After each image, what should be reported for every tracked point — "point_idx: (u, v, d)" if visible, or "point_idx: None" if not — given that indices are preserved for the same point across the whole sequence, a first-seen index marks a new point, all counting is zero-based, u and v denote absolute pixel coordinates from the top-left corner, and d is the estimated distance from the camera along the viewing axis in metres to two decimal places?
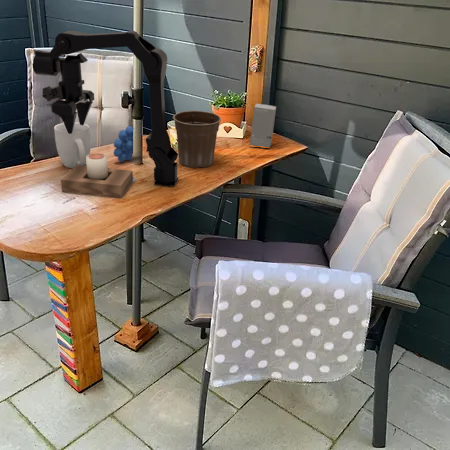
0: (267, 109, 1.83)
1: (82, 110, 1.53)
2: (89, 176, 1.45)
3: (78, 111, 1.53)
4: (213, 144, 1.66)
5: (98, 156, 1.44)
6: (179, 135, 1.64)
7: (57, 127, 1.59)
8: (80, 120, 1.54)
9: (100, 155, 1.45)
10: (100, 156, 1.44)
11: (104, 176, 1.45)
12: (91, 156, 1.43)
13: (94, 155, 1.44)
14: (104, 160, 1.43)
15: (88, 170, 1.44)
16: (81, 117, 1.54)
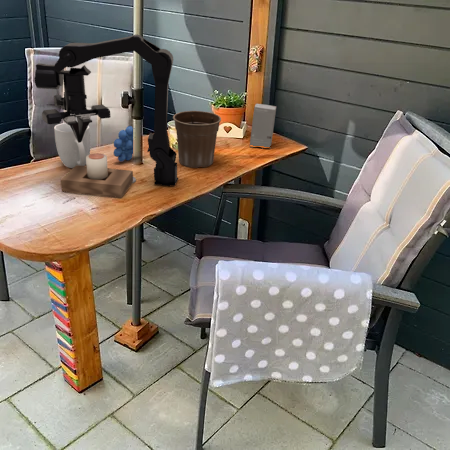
0: (267, 109, 1.83)
1: (80, 127, 1.46)
2: (89, 176, 1.45)
3: (78, 127, 1.47)
4: (213, 144, 1.66)
5: (98, 156, 1.44)
6: (179, 135, 1.64)
7: (57, 127, 1.59)
8: None
9: (100, 155, 1.45)
10: (100, 156, 1.44)
11: (104, 176, 1.45)
12: (91, 156, 1.43)
13: (94, 155, 1.44)
14: (104, 160, 1.43)
15: (88, 170, 1.44)
16: None
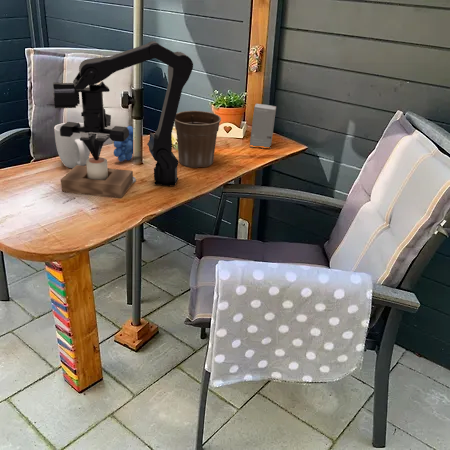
0: (267, 109, 1.83)
1: None
2: None
3: None
4: (213, 144, 1.66)
5: (99, 160, 1.44)
6: (179, 135, 1.64)
7: (57, 127, 1.59)
8: None
9: (100, 159, 1.45)
10: (100, 160, 1.44)
11: None
12: (91, 160, 1.44)
13: (94, 159, 1.45)
14: (104, 164, 1.44)
15: (88, 174, 1.45)
16: None
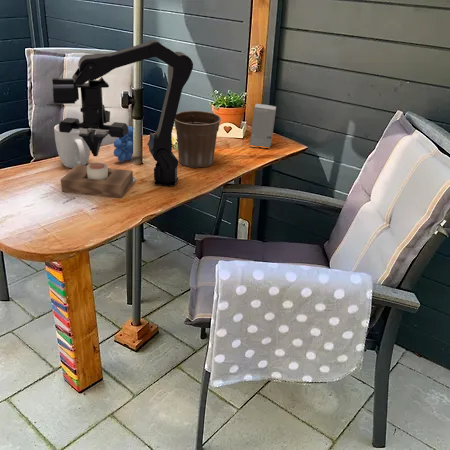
0: (267, 109, 1.83)
1: None
2: None
3: None
4: (213, 144, 1.66)
5: (99, 166, 1.45)
6: (179, 135, 1.64)
7: (57, 127, 1.59)
8: None
9: (101, 165, 1.46)
10: (101, 166, 1.45)
11: None
12: (92, 166, 1.45)
13: (95, 165, 1.46)
14: (105, 170, 1.45)
15: None
16: None
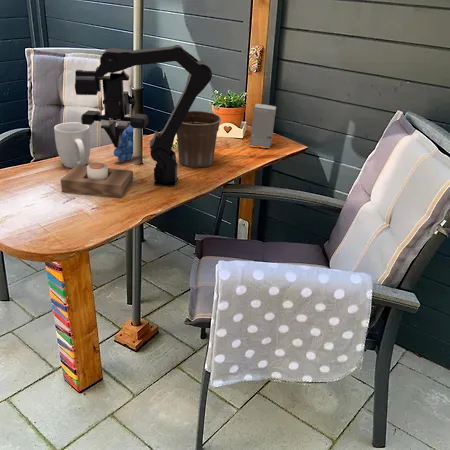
0: (267, 109, 1.83)
1: None
2: None
3: None
4: (213, 144, 1.66)
5: (99, 166, 1.45)
6: (179, 135, 1.64)
7: (57, 127, 1.59)
8: None
9: (101, 165, 1.46)
10: (101, 166, 1.45)
11: None
12: (92, 166, 1.45)
13: (95, 165, 1.46)
14: (105, 170, 1.45)
15: None
16: None
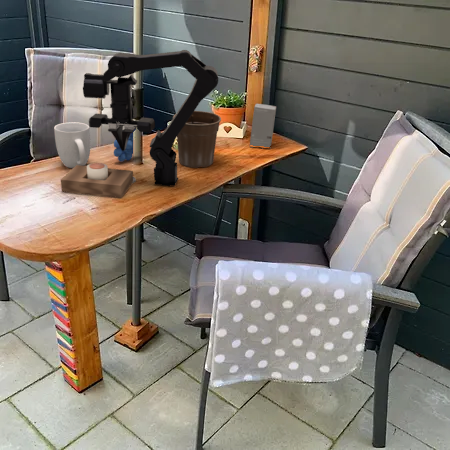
0: (267, 109, 1.83)
1: None
2: None
3: None
4: (213, 144, 1.66)
5: (99, 166, 1.45)
6: (179, 135, 1.64)
7: (57, 127, 1.59)
8: None
9: (101, 165, 1.46)
10: (101, 166, 1.45)
11: None
12: (92, 166, 1.45)
13: (95, 165, 1.46)
14: (105, 170, 1.45)
15: None
16: None
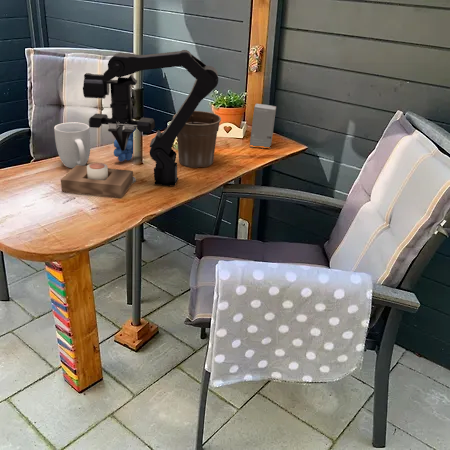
0: (267, 109, 1.83)
1: None
2: None
3: None
4: (213, 144, 1.66)
5: (99, 166, 1.45)
6: (179, 135, 1.64)
7: (57, 127, 1.59)
8: None
9: (101, 165, 1.46)
10: (101, 166, 1.45)
11: None
12: (92, 166, 1.45)
13: (95, 165, 1.46)
14: (105, 170, 1.45)
15: None
16: None
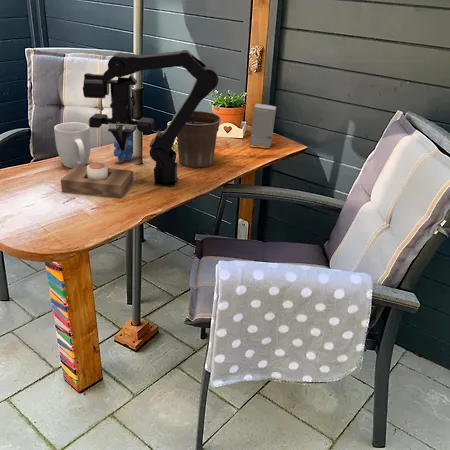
0: (267, 109, 1.83)
1: None
2: None
3: None
4: (213, 144, 1.66)
5: (99, 166, 1.45)
6: (179, 135, 1.64)
7: (57, 127, 1.59)
8: None
9: (101, 165, 1.46)
10: (101, 166, 1.45)
11: None
12: (92, 166, 1.45)
13: (95, 165, 1.46)
14: (105, 170, 1.45)
15: None
16: None
